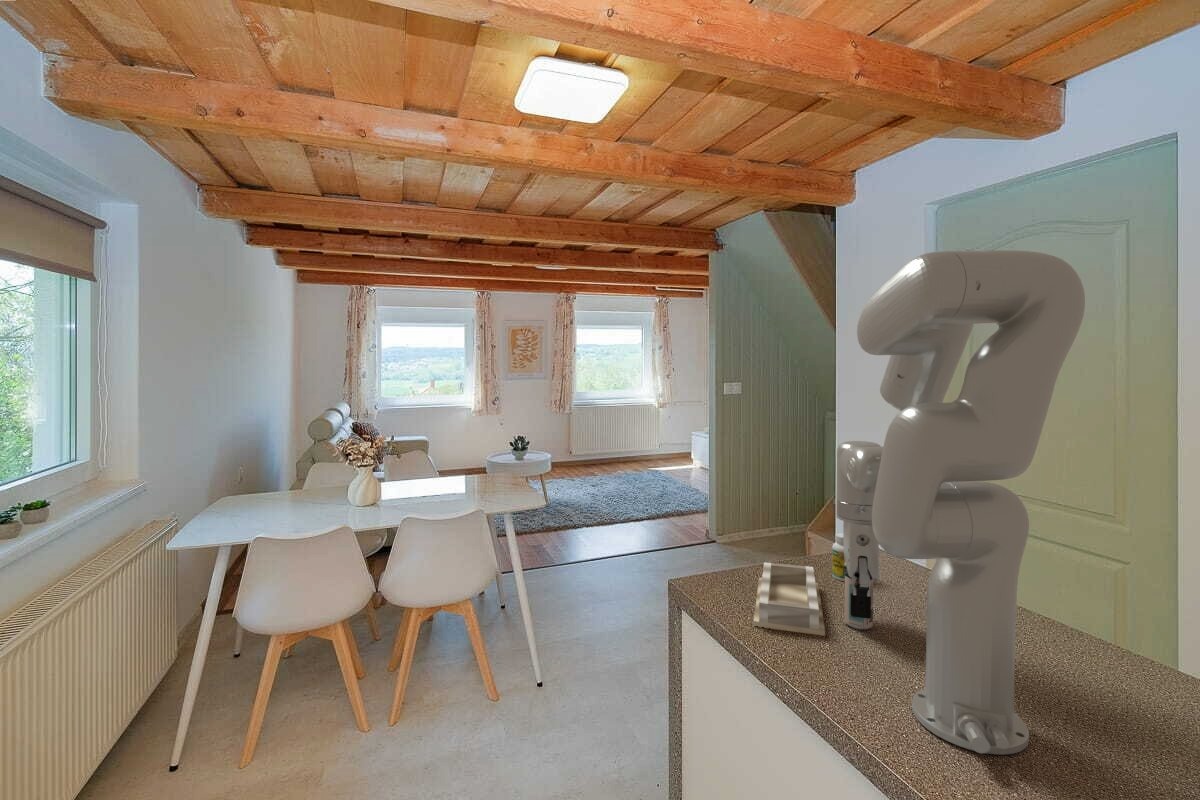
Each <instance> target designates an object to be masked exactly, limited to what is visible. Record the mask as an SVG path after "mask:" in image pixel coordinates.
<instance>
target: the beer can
mask: <svg viewBox="0 0 1200 800" xmlns="http://www.w3.org/2000/svg"><path fill="white" fill-rule="evenodd" d="M844 564H845V581H844V619H843V621H844V623H845V624H846V625H847V626H848V627H850V628H852V629H855V630H860V631H864V630H868V629H869V630H870V629H871V628H873V627H874V621H873V620H874V579H872V577H871V574H870V595H871V618H869V619H868V618H859V617H852V616H851V614H850V604H851V593H852V578H851V577H850V576H849V575H848V572H847V567H846V563H844ZM855 577H859V574H856V573H855ZM857 583H858V584H859V581H856V585H857Z"/></svg>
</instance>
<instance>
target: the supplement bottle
mask: <svg viewBox="0 0 1200 800" xmlns="http://www.w3.org/2000/svg"><path fill="white" fill-rule="evenodd" d="M834 535H835V536H834V539H835V542H834V543H833V544H832V546H831V548H832V549H831V550H832V551H831V553H832V555H831V558H832V559H831V561H832V562H831V563H832V564H831V566H832V567H831V568H832V569H831V570H832V572H831V573H832V577H833V578H834V579H835V580H838V581H840V582H845V564H844V563H845V559H844V544H843V532H837V533H836V534H834Z"/></svg>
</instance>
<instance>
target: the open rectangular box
mask: <svg viewBox="0 0 1200 800" xmlns="http://www.w3.org/2000/svg"><path fill="white" fill-rule="evenodd" d="M762 567H763V568H762V575H761V577H759V578H758V585H757V591H756V599H755V607H754V614H753V620H752V621H753V627H754V626H758V627H757V628H762V627H764V629H769V628H770V629H771V630H776V631H777V630H778V631H784V632H785V631H787V632H793V633H794V632H795V633H802V634H810V635H818V636H822V637H823V636H826V628H825V622H824V621H825V620H824V616H823V615H824V614H823V608H822V601H821V600H822V599H821V593H820V586H819V583H816V578H815V572H814V566H808V565H799V564H798V565H795V564H786V563H785V564H783V563H773V562H763V566H762ZM770 629H769V630H770Z"/></svg>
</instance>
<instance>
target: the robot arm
mask: <svg viewBox="0 0 1200 800" xmlns="http://www.w3.org/2000/svg"><path fill="white" fill-rule="evenodd" d="M1085 309H1086V295H1085V289H1084V284H1083V282H1082V280H1081V278H1080V276H1079V273H1077V271H1076V270H1075V269H1074V268H1073V267H1072V265H1070V264H1069V262H1067V261H1065V260H1064V259H1062V258H1059V257H1057V256H1054V255H1051V254H1047V253H1043V252H1038V251H1029V250H1012V249H1011V250H1009V249H1007V250H1002V249H1001V250H967V251H965V250H963V251H961V250H960V251H959V250H956V251H955V250H951V251H949V250H947V251H945V250H943V251H935V252H934V251H933V252H927V253H924V254H920V255H919V256H916V257H915V258H913V259H911V260H910V261H909V262H907V263H906V264H904V266H903V267H901V269H899V270H897V272H896V273H895V274H894V275H893V276H892V277H890V278H889V279H888V280H887V281H886V282H884V284H883V285H882V286H881V287H879V289H877V290H876V291H875V293H873V294H872V296H871V297H870V299H869V300H868V301H867V302H866V303H865V305H864V307H863V309H862V311H861V312H860V316H859V319H858V321H857V322H858V323H857V325H856V326H857V328H856V336H857V342H858V344H859V346H860V348H861V350H863V351H864V352H865V353H867V354H868V355H874V356H889V360H888V363H887V365H886V368H885V371H884V375H883V378H882V380H881V383H880V388H879V392H880V394H881V395H880V396H882V398H883V400H884V401H885V402H886V403H887V404H889V405H890V406H892V407H893V408H895V409H896V410H898V411H899V412H898V414H896V415H895V417H894V418H893V419H892V421H891V423H890V424H889V426H888V429H887V430H886V434H885V437H884V438H885V439H884V441H883V445H882V446H881V444H879V443H878V442H877V443H876V442H873V441H866V440H865V441H863V440H849V441H843V442H841V443H840V444H839V445H838V446H837V448H836V449H837V450H836V518H837V519H839V520H840V521H843V524H842V527H843V529H842V531H843V532H842V533H843V544H844V559H845V563H846V567H847V572H848V575H849V576H850V577H851V578H852V593H851V604H850V614H851V616H852V617H859V618H868V619H869V618H871V595H870V574H871V577H872V579H873V580H874V581H875V582H877V581H879V580H880V578H881V577H880V575H881V574H880V550H879V549H880V548H882V549H883V551H885V552H886V553H888V554H889V555H890V556H893V557H896V558H899V559H905V560H936V561H935V563H934V565H933V567H932V569H931V571H930V573H929V577H928V580H927V587H926V627H925V631H926V632H925V633H926V634H925V637H926V639H925V688H923V689H921V690H918V691H917V692H915V694H914V695H913V697H912V700H911V709H912V713H913V714H914V717H915V719H916V720H917V721H918V722H919V723H920V724H921V725H922V726H923V727H924V728H925V729H927V730H928V731H929V732H930V733H932V734H934V735H935V736H937V737H939V738H941V739H942V740H944V741H946V742H949V743H951V744H953V745H955V746H957V747H960V748H964V749H967V750H969V751H974V752H976V753H979V754H981V755H982V754H988V755H989V754H990V755H1002V756H1003V755H1012V754H1017V753H1021V752H1022V751H1024V750H1025V749H1026V748H1027V747H1028V745H1029V743H1030V732H1029V731H1030V730H1029V728H1028V726H1027V724H1026V723H1025V722H1024V720H1023V719H1022V718H1021V717H1020V716H1019V715H1018V714H1016V713H1015V709H1014V708H1015V705H1014V704H1015V666H1016V662H1015V661H1016V625H1017V624H1016V622H1017V621H1016V619H1017V603H1018V601H1017V599H1018V584H1019V574H1020V569H1021V564H1022V561H1023V560H1022V559H1023V556H1024V552H1025V549H1026V545H1027V541H1028V538H1029V529H1030V520H1029V514H1028V511H1027V508H1026V506H1025V504H1024V503H1023V501H1022V500H1021V499H1020V497H1019V496H1017V494H1016V493H1015V492H1014V491H1012V490H1010V489H1009V488H1007V487H1005V486H1003V485H1001V484H998V483H997V484H996V483H993V482H989V481H1002V480H1008V479H1013V478H1017V477H1019V476H1021V475H1022V474H1024V473H1025V472H1026V471H1027V470H1028V468H1029V467H1030V466H1031V463H1032V461H1033V459H1034V457H1035V454H1036V451H1037V448H1038V446H1039V441H1040V439H1041V435H1042V431H1043V428H1044V425H1045V421H1046V419H1047V415H1048V412H1049V408H1050V404H1051V401H1052V398H1053V393H1054V390H1055V385H1056V383H1057V380H1058V376H1059V373H1060V371H1061V369H1062V368H1063V364H1064V362H1065V360H1066V358H1067V356H1068V355H1069V352H1070V350H1071V348H1072V346H1073V344H1074V342H1075V340H1076V338H1077V336H1078V333H1079V332H1080V328H1081V325H1082V322H1083V318H1084V314H1085ZM975 324H976V325H977V324H996V325H997V326H998V329H997V330H996V331H994V333H993V334H992V335H990V336H989V337H988V338H987V339H985V341H983V343H982V344H980V347H979V348H978V349H977V350H976V351H975V353H974V354H973V355H972V357H971V359H970V360H969V362H968V365H967V366H966V369H965V374H964V377H963V378H964V380H963V383H962V386H961V390H960V391H959V394H958V396H957V398H956V399H955V400H953V401H952V402H951V401H950V402H944V400H945V397H946V394H947V392H948V390H949V388H950V384H951V381H952V380H953V378H954V375H955V373H956V370H957V367H958V365H959V362H960V360H961V357H962V355H963V352H964V351H965V349H966V346H967V344H968V341H969V338H970V336H971V333H972V330H973V327H974V325H975ZM987 481H988V482H987ZM879 546H880V547H879ZM855 573H856V574H859V577H855ZM856 581H859V584H858V583H857V585H856Z"/></svg>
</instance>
